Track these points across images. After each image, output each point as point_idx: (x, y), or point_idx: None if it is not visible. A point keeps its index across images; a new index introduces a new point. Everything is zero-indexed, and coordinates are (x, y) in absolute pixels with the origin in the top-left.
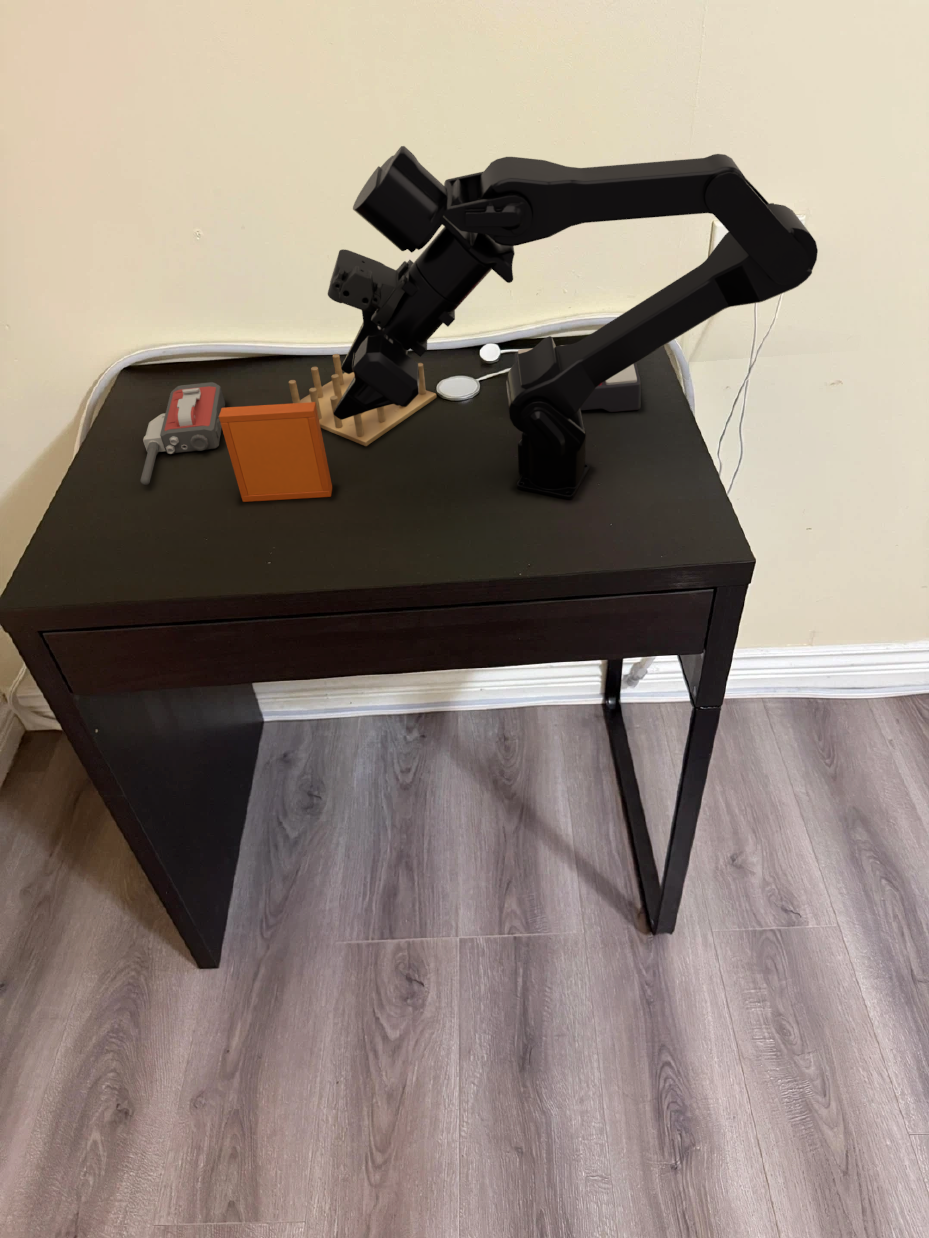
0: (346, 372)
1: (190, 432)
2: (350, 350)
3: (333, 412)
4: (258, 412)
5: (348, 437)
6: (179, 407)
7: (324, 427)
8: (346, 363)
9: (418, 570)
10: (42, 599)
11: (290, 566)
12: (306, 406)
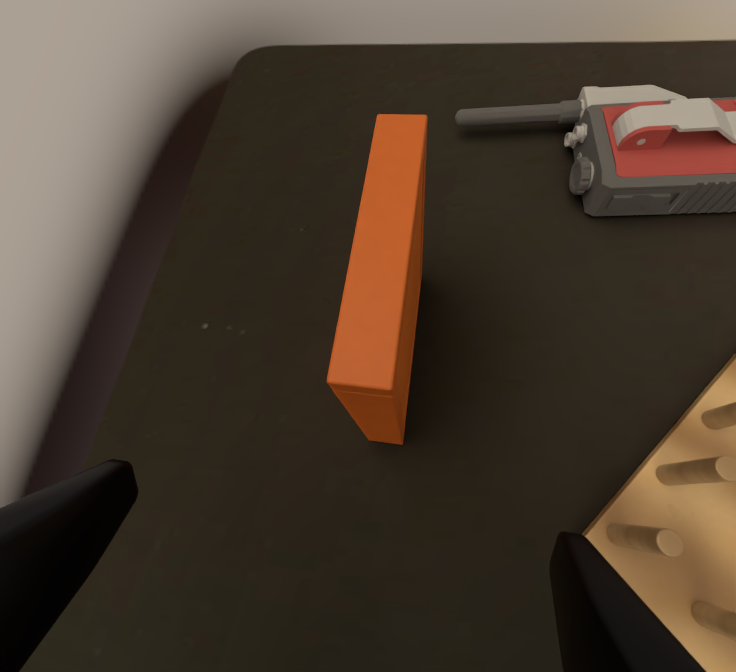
0: (552, 558)
1: (596, 149)
2: (625, 654)
3: (111, 460)
4: (367, 206)
5: (614, 498)
6: (668, 104)
7: (668, 435)
8: (573, 577)
9: (61, 617)
10: (243, 72)
11: (181, 360)
12: (363, 355)
